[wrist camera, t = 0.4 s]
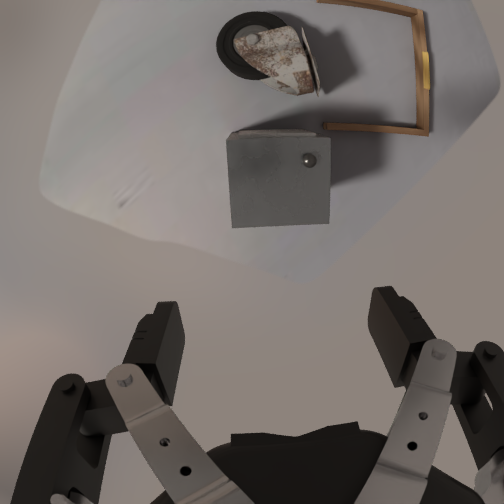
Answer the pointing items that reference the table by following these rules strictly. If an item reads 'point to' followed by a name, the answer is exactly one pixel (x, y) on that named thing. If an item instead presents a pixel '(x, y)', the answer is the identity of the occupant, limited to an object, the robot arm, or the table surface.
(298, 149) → the control box
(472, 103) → the table surface
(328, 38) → the table surface
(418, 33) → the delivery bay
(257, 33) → the caster wheel
